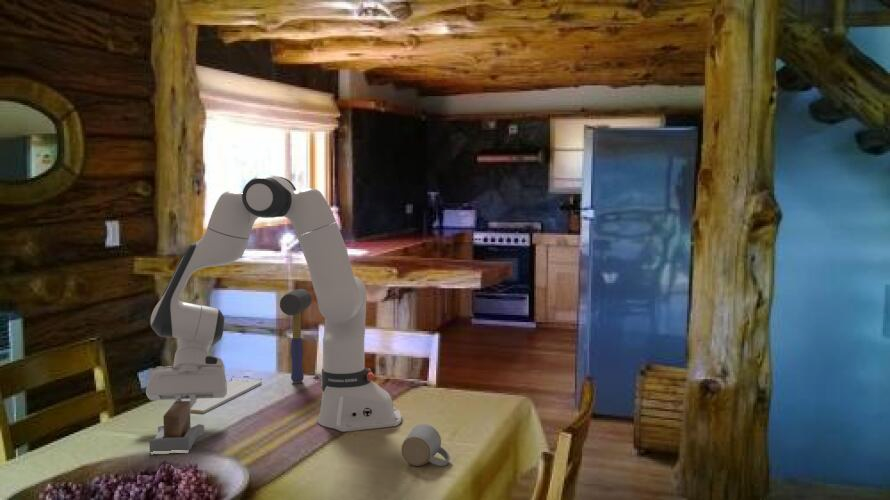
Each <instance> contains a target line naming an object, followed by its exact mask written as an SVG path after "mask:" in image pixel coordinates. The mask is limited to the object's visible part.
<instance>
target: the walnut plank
mask: <svg viewBox="0 0 890 500" xmlns="http://www.w3.org/2000/svg"><path fill="white" fill-rule="evenodd" d="M162 419H163V426H164V438H176V437H184V436H185V434H186V433H187V431H188V430H189V429H190V428H192V427H191V412H190V400H182V401H174V402H173V403H172V405H171V406H170V407H169V408H168V409H167V411H166V412H165V414H164V415H163V418H162Z"/></svg>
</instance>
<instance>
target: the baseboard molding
mask: <svg viewBox="0 0 890 500" xmlns="http://www.w3.org/2000/svg"><path fill="white" fill-rule="evenodd" d="M239 378H241V379H238V378H237V379H235V380H233V377H231V378H230V381H229V382H227V395H226V396H225V397H223V398H200V399H197V401H196V403H195V404H194V405H193V406H192V408H191V412H190V414H191V413H192V414H193V413H194V414H205V413H207V412H210V411H211V410H213V409H215V408H217V407H220V406H221V405H223V404H225V403H227V402H230V401H231V400H234V399H235V398H237V397H239V396H241V395H244V394H245V393H247V392H249V391H251V390H253V389H255V388H257V387H259V386H261V385H262V378H260V381H259V380H254V378H252V377H251V378H250V376H249V375H244V376H243V377H241V376H239ZM243 378H247V379H253V380H244V379H243Z"/></svg>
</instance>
